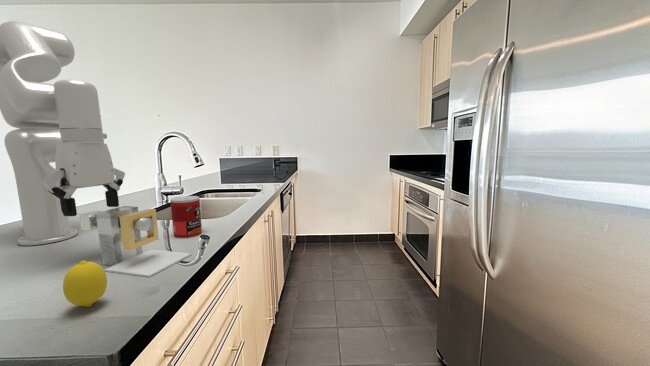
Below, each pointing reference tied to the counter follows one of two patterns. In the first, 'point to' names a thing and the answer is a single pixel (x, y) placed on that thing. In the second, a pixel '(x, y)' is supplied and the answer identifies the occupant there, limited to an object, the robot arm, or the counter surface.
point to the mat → (148, 263)
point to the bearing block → (114, 236)
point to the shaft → (145, 224)
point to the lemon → (84, 283)
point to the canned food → (186, 216)
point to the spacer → (128, 230)
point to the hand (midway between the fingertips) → (93, 210)
